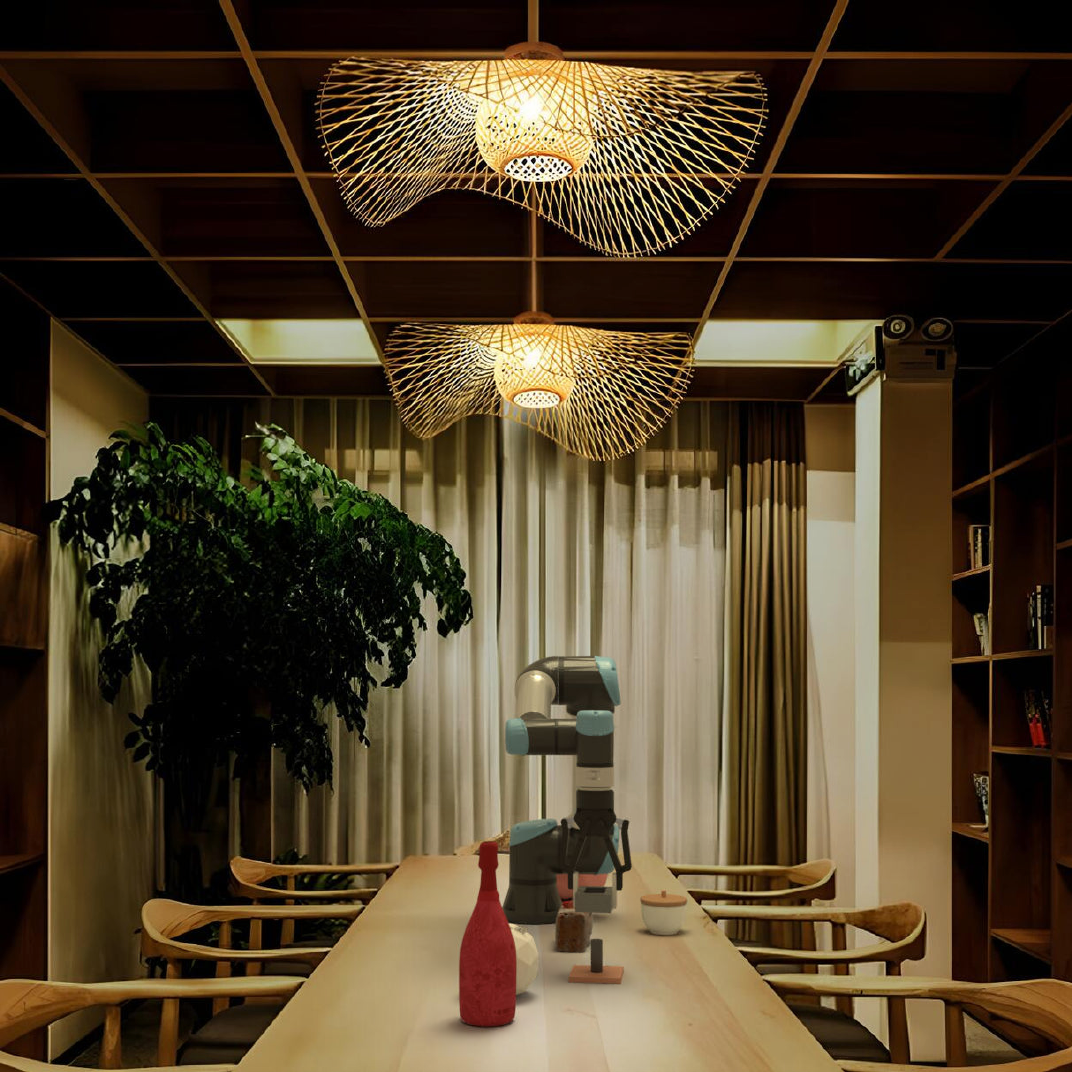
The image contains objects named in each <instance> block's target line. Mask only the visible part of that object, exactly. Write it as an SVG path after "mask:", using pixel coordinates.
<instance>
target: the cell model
mask: <svg viewBox="0 0 1072 1072" xmlns="http://www.w3.org/2000/svg"><path fill="white" fill-rule="evenodd" d="M609 875H610V873H609V874H598V875H587V874H578V888H579V887H580V886H603V887H605V885H606V883H607V880H608V877H609ZM557 888H558V892H559V895H560V898H561V901H562V900H563V901H570V900H569V899H571V900H573V889H568V874H564V873H563V874H557Z"/></svg>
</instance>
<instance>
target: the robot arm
mask: <svg viewBox="0 0 1072 1072" xmlns="http://www.w3.org/2000/svg"><path fill="white" fill-rule="evenodd" d="M514 696H515V698H516V700H517V706H516V707H517V709H516V718H509V719H507V720H506V721H505V729H504V732H505V733H504V734H505V735H504V736H505V737H504V739H505V740H504V744H505V745H504V746H505V752H506V753H507V754H509V755H514V756H518V755H519V756H522V757H523V756H572V760H571V761H572V765H571V767H572V770H571V771H572V778H571V779H572V783H571V786H572V787H571V788H572V789H571V790H572V791H571V792H572V793H571V796H572V799H571V803H572V804H571V805H572V806H571V813H570V814H569V815H568V816H566V817H563V818H562V819H561V820H560V825H558V823H559V822H558V821H557V819H556V818H542V819H541V818H540V819H532V820H527V821H526V820H525V821H522V822H518V823H515V824H514V825H512V826H511V828H510V830H509V843H508V846H509V859H508V860H509V863H508V866H509V868H508V869H509V871H508V873H509V875H508V883H509V884H508V888H507V891H506V895H505V898H504V901H503V904H502V909H503V911H504V914H505V916H506V918H507V921H508V923H510V922H511V923H514V924H528V925H530V924H531V925H532V924H533V925H535V924H536V925H540V924H550V923H556V917H557V914H558V912H559V910H560V907H561V906H562V903H563V902H562V899H561V898H560V895H559V892H558V888H557V874H563V873H564V874H568V889H573V899H572V901H573V908H575V893H576V891H577V890H578V874H587V875H598V874H609V875H610V874H611V873H612V876H611V877H612V880H611V881H612V883H611V887H612V909H613V910H615V909H617V908H618V891H622V890H623V887H624V883H623V882H624V879H623V877H624V873H626V872H630V871H631V870H632V867H633V865H632V864H633V863H632V856H631V855H632V854H631V849H630V847H631V846H630V840H629V832H628V831H629V830H628V829H629V825H630V819H629V818H621V817H618V816H617V815H616V813H615V791H613V789H612V788H614V786H615V767H614V765H615V763H614V752H615V751H614V748H615V747H614V746H615V744H614V740H615V739H614V737H615V736H614V735H615V734H614V733H615V731H614V730H615V724H614V714H615V707H618V706H620V705H621V704H622V702H621V692H620V685H619V678H618V670H617V663H616V661H615V660H614V659H613V658H612V657H611V656H597V655H578V656H576V655H570V656H569V655H568V656H566V655H565V656H564V655H563V656H560V655H559V656H558V655H552V656H547V657H546V656H545V657H542V658H540V659H538V660H535V661H533V662H532V663H530V664H528V665H526V667H525V668H524V669H522V671H521V672H520V673H519V674H518V676H517V677H516V680H515V685H514ZM557 705H558V706H565V708H566V709H565V710H566V711H565V712H566V714H567V715H568V716H569V717H570V718H552V706H557ZM620 838H621V845H622V846H621V847H622V854H623V855H622V856H623V862H624V864H622V863H621V860H620V858H619V855H618V853H619V845H620V843H619V841H620ZM614 870H615V872H614Z"/></svg>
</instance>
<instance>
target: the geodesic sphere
mask: <svg viewBox="0 0 1072 1072" xmlns="http://www.w3.org/2000/svg"><path fill="white" fill-rule="evenodd" d="M509 926H510V928H511V931H512V935H513V938H514V942H515V947H516V961H517V975H516V996H517V995H520V994H523V993H525V992H526V991H527V989H528V988H529V986H530V985H531V984H532V982H533V981H534V980H535V979H536V977H537V975H538V966H539V952H538V949H537V946H536V942H535V940H534V936H532V935H531V934H530V933H528V932H527V930H528V929H529V928H528V927H527V926H524V925H523V926H521V925H519V926H518V925H517V924H515V923H514V924H513V923H509Z"/></svg>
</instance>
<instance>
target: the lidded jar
mask: <svg viewBox="0 0 1072 1072" xmlns="http://www.w3.org/2000/svg"><path fill="white" fill-rule="evenodd" d="M639 900H640V912H641V917H642V921H643V923H644V925H645V926H646V928H647V929H648V930H649V931H650V933H651V934H653V935H657V936H658V935H659V936H673V935H676V934H678V932H679V931H680V929H682V928H683V926H684V924H685V922H686V919H687V913H688V912H687V911H688V910H687V908H688V907H687V905H688V898H687V897H685V896H683V895H680V894H679V895H678V894H670V893H667V890H665V889H664V890H662V889H661V893H654V894H652V893H651V894H646V895H642V896H641V897H640V899H639Z"/></svg>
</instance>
